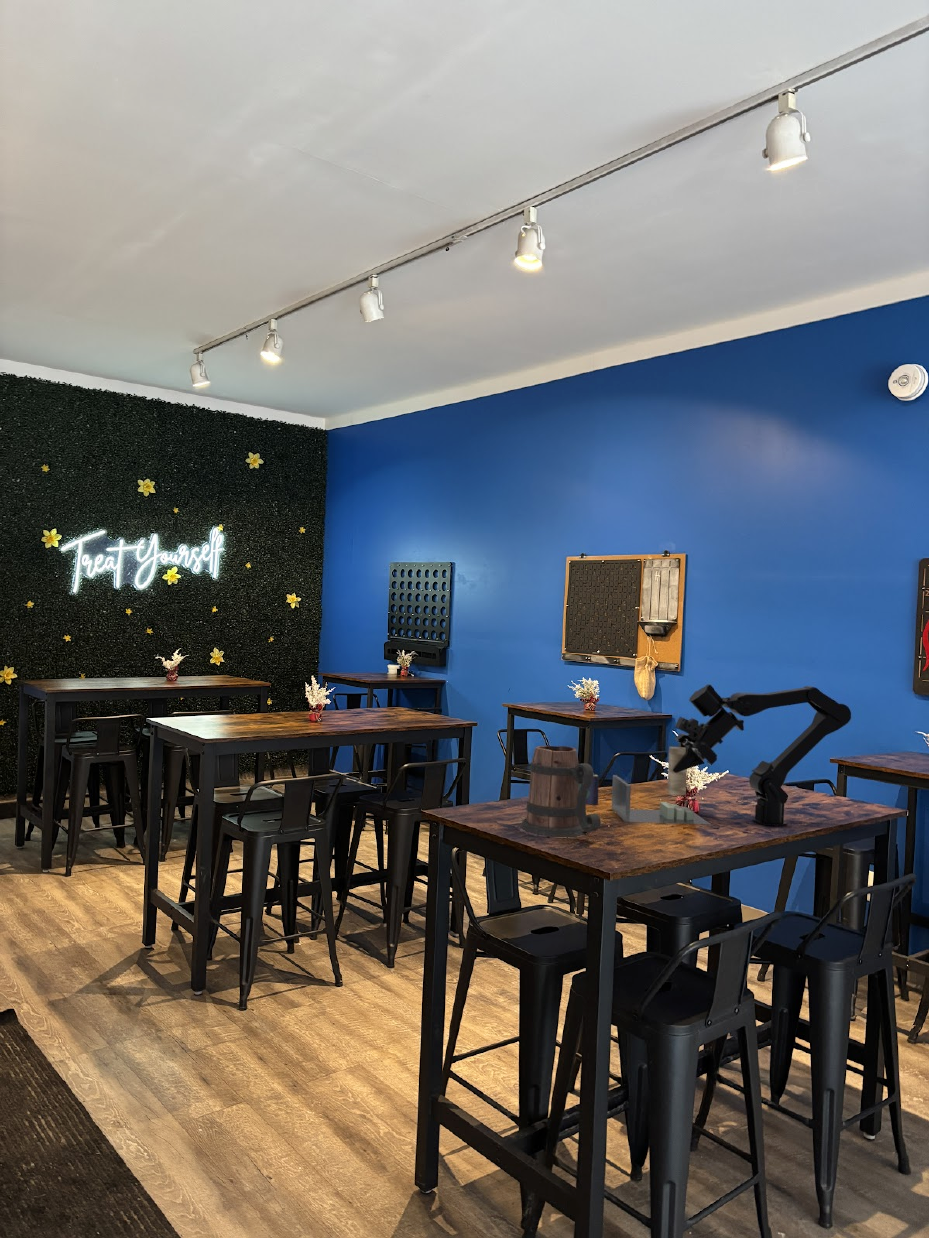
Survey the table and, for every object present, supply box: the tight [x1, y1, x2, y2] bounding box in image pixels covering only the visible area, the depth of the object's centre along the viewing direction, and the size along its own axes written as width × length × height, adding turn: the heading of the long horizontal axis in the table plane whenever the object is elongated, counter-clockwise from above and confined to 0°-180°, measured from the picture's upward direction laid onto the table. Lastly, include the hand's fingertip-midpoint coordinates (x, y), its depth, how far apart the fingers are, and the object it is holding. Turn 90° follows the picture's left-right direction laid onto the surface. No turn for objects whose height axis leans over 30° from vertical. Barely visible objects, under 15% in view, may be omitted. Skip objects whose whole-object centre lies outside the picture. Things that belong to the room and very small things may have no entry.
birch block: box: [666, 746, 688, 796], centre depth 242 cm, size 4×3×12 cm
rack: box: [611, 774, 712, 825], centre depth 242 cm, size 22×16×10 cm
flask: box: [579, 769, 600, 806], centre depth 256 cm, size 9×3×11 cm, turn 65°
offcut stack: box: [659, 801, 695, 820], centre depth 242 cm, size 7×7×3 cm
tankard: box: [519, 745, 602, 838], centre depth 222 cm, size 24×17×20 cm
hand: (672, 770), depth 242 cm, fingers closed on birch block, 3 cm apart
